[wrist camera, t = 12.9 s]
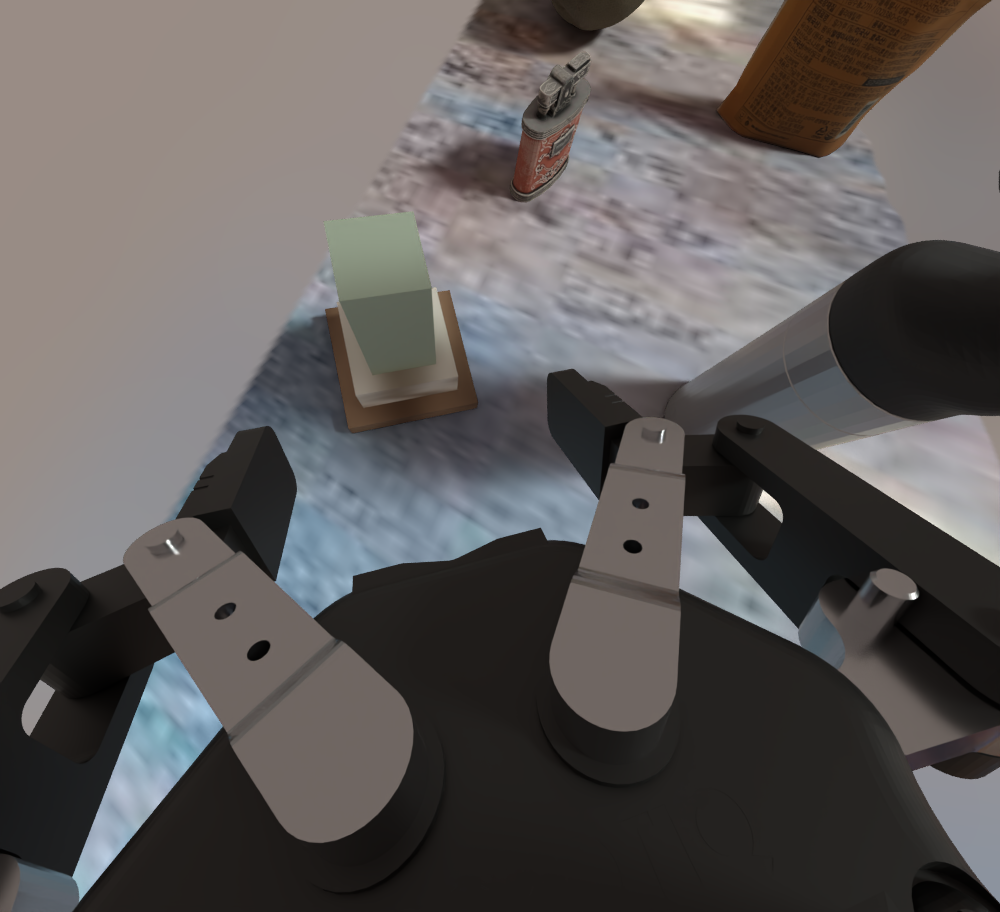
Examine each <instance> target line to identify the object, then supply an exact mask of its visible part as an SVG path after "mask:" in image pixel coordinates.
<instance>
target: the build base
mask: <svg viewBox="0 0 1000 912" xmlns="http://www.w3.org/2000/svg"><path fill="white" fill-rule="evenodd" d="M432 302H433V319H434V335H435V352H436V364H433V365H428V366H422V367H416V368H411V369H405V370H399V371H394V372H388V373H382V374H376V375H372V373H371V371H370V369H369V366H368V364H367V362H366V360H365V357H364V355H363V353H362V351H361V349H360V346H359V344H358V342H357V340H356V337H355V335H354V333H353V331H352V329H351V326H350V324H349V322H348V320H347V317H346V315H345V313H344V311H343V309H342V306H341V304H340V302H337V305H338V307H336V308H329V309H325V311H326V316H327V322H328V327H329V332H330V337H331V342H332V347H333V352H334V357H335V362H336V368H337V373H338V378H339V383H340V388H341V393H342V398H343V403H344V408H345V414H346V419H347V424H348V429H349V430H350V431H351V432H352V433H357V432H362V431H367V430H371V429H376V428H381V427H386V426H391V425H396V424H401V423H406V422H411V421H416V420H420V419H425V418H430V417H435V416H440V415H445V414H450V413H455V412H460V411H465V410H469V409H474V408H477V405H478V400H477V396H476V392H475V388H474V385H473V381H472V377H471V373H470V369H469V365H468V361H467V357H466V353H465V349H464V345H463V341H462V337H461V334H460V330H459V326H458V322H457V318H456V314H455V310H454V306H453V302H452V298H451V294H450V290H448V291H442V292H437V289H436V288H432Z"/></svg>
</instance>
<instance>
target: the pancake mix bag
mask: <svg viewBox="0 0 1000 912" xmlns="http://www.w3.org/2000/svg"><path fill="white" fill-rule="evenodd" d="M990 1H991V0H784V2H783V4H782V6H781V8H780V9H779V11H778V13H777V14H776V16H775V18H774V20H773V21H772V23H771V25H770V26H769V28H768V30H767V31H766V33H765V34H764V36H763V37H762V39H761V41H760V42H759V44H758V46H757V48H756V49H755V51H754V53H753V55H752V57H751V59H750V60H749V62H748V64H747V66H746V68H745V69H744V71H743V73H742V75H741V77H740V79H739V81H738V83H737V85H736V86H735V88H734V89H733V90H732V91H731V93H730V94H729V95H728V96H727V98H726V99H725V100H724V101H723V103H722V104H721V105H720V106H719V107H718V109H717V112H718V113H719V114H720V116H721V117H722V118H723V120H724V121H725V122H726V123H727V125H728V126H729V127H730V128H731V130H733V131H734V132H736V133H738V134H739V135H741V136H742V137H746V138H750V139H754V140H758V141H762V142H766V143H769V144H773V145H777V146H781V147H785V148H789V149H793V150H797V151H801V152H804V153H807V154H810V155H813V156H816V157H823V156H827V155H829V154H831V153H832V152H834V151H835V150H837V149H838V148H839V147H840V146H842V145H843V144H844V142H845V141H846V140H847V138H848V137H849V136H850V135H851V133H852V132H853V131H854V129H855V128H856V126H857V125H858V124H859V122H860V121H861V120H862V119H863V117H864V116H865V115H866V114H867V113H868V112H869V111H870V110H871V109H872V108H873V107H874V106H875V105H876V104H877V103H878V102H879V101H880V100H881V99H882V98H883V97H884V96H885V95H886V94H888V93H889V92H890V91H891V90H892V89H893V88H894V87H895V86H897V85H898V84H899V83H900V82H901V81H903V80H904V79H905V78H907V77H908V76H909V75H910V74H911V73H913V72H914V71H915V70H916V69H918V68H919V67H920V66H921V65H922V64H923V63H924V62H925V61H926V60H927V59H928V58H929V57H930V56H931V55H932V54H933V53H934V52H935V51H936V50H937V49H938V48H939V47H940V46H941V45H942V44H943V43H944V42H945V41H946V40H947V39H948V38H949V37H950V36H951V35H952V34H953V33H954V32H955V31H956V30H957V29H958V28H960V27H961V26H962V25H963V24H964V23H965V22H966V21H967V20H968V19H969V18H970V17H971V16H972V15H973V14H975V13H976V12H977V11H978V10H980V9H981V8H982V7H983V6H985V5H986V4H987V3H989V2H990Z"/></svg>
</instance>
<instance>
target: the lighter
mask: <svg viewBox="0 0 1000 912" xmlns="http://www.w3.org/2000/svg"><path fill="white" fill-rule="evenodd" d="M590 63H591V57H590V55H589V54H588V53H587V52H586V51H582V52H581V53H580V54H578V55H577V56H576V57H575V58H573V59H572V60H571V61H570V62H569V63H567V64H566V65H565V66H564V67H563V68H562V67H561V66H560V65H556V66H555V67H554V68H553V69H552V71H551V73H550V76H549V77H548V79H547V81H546V82H544V83H543V84H542V85H541V86H540V90H539V95H538V96H537V97H536V98H535V99H534V100H533V101H532V102H531V104H530V105H529V106H528V108H527V109H526V110H525V112H524V114H523V118H522V129H523V130H522V136H521V141H520V147H519V152H518V157H517V163H516V168H515V174H514V177H513V178H512V180H511V185H510V193H511V195H512V196H513V197H514V198H515V199H516V200H518V201H520V202H529V201H531V200H533V199H534V198H536V197H538V196H539V195H541V194H542V193H544V192H545V191H546V190H547V189H549V188H550V187H551V186H552V185H553V184H554V183H555V182H556V181H557V180H558V178H559V177H560V176H561V174H562V173H563V171H564V170H565V168H566V166H567V163H568V160H569V151H570V148H571V144H572V141H573V138H574V135H575V132H576V129H577V125H578V122H579V119H580V116H581V113H582V110H583V107H584V106H585V104H586V103H587V101H588V98H589V95H590V91H591V87H590V85H589V83H588V82H587V80H586V79H584V78H583V77H585V76H586V75H587V73H588V70H589V67H590Z"/></svg>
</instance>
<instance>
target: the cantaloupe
mask: <svg viewBox="0 0 1000 912" xmlns="http://www.w3.org/2000/svg"><path fill="white" fill-rule="evenodd" d="M551 1H552V4H553V5H554V7H555V9H556V11H557V12H558V14H559V15H560V16H561V17H562V18H563V19H564V20H566V21H567V22H568V23H571V24H573V25H574V26H576V27H577V28H579V29H582V30H597V29H603V28H607V27H610V26H613V25H615V24H616V23H618V22H620V21H622V20H623V19H625V18H626V17H628V16H629V15H630V14H631V13H632V12H634V11H635V10H636V9H637V8H638V7H639V6H640V5H641V4H642V3H643V2H644V0H551Z"/></svg>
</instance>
